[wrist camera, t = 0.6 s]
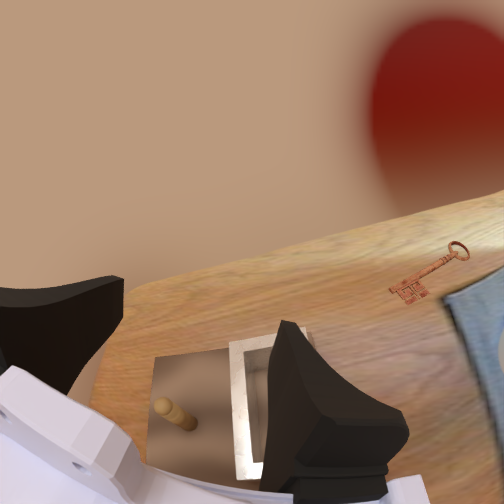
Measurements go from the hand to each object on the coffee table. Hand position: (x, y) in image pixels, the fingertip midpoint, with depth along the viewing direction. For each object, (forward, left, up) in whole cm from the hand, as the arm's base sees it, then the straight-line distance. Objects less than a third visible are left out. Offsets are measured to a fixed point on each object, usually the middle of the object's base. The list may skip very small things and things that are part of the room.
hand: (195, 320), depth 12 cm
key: (+12, -24, -17) cm, 32 cm away
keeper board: (0, +3, -16) cm, 17 cm away
